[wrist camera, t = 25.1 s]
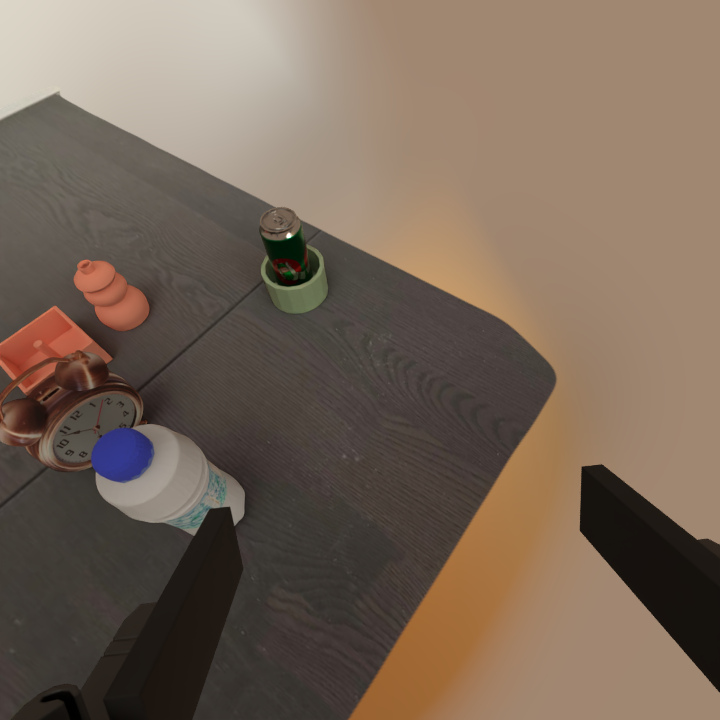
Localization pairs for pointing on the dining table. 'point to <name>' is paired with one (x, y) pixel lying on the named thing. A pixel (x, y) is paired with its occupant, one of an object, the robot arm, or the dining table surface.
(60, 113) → the dining table surface
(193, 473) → the bottle
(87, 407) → the alarm clock
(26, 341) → the pottery
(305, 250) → the soda can
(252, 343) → the dining table surface
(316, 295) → the cup
